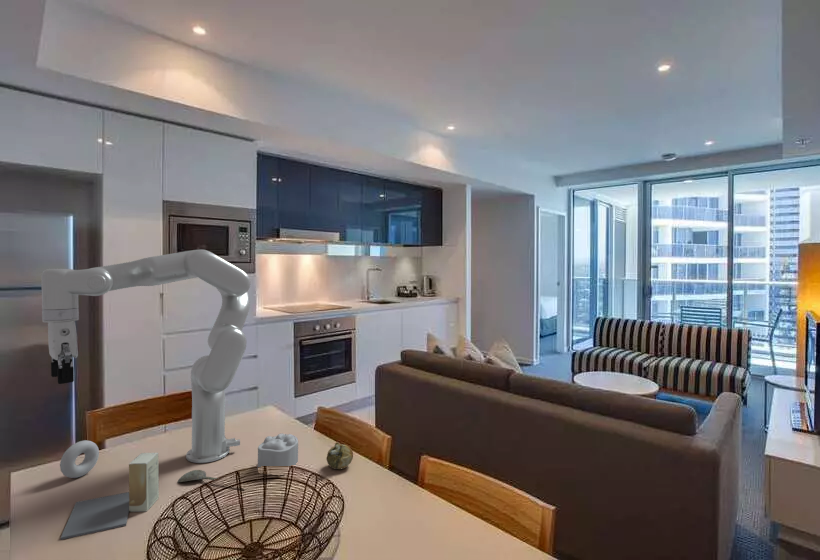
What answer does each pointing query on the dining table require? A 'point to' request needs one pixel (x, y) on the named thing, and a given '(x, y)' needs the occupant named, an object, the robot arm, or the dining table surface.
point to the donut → (73, 452)
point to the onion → (339, 456)
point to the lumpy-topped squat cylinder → (278, 451)
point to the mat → (97, 515)
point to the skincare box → (143, 482)
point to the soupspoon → (195, 476)
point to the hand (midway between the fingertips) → (62, 379)
